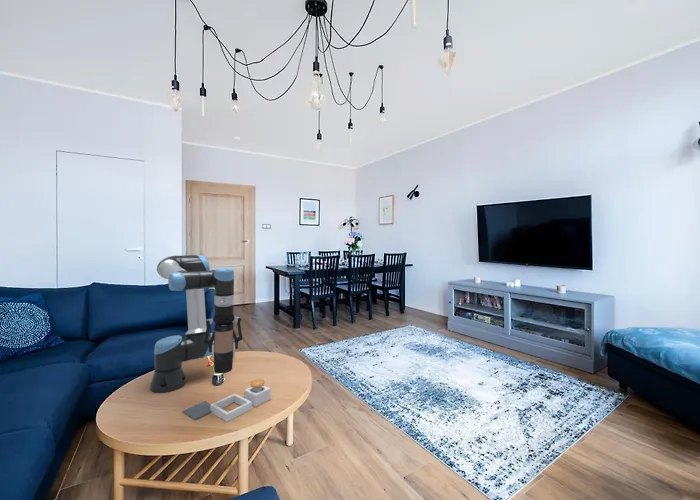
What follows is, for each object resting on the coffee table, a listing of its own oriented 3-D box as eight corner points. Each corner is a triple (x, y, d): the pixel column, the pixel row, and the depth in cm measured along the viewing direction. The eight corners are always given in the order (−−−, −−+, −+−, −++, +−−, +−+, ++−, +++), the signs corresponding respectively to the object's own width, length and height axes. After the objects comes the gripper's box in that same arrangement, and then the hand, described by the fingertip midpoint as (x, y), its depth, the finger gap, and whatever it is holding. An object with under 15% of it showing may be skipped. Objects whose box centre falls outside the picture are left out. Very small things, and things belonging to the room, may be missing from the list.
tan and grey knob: (247, 399, 141) (247, 382, 141) (258, 393, 146) (258, 378, 145) (256, 403, 137) (256, 386, 137) (266, 397, 142) (267, 381, 142)
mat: (182, 412, 131) (182, 410, 131) (205, 402, 139) (205, 400, 139) (195, 420, 125) (195, 419, 125) (218, 409, 133) (218, 408, 133)
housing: (244, 401, 141) (244, 390, 140) (258, 393, 147) (258, 383, 147) (255, 406, 136) (255, 395, 136) (269, 399, 143) (270, 388, 142)
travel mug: (236, 370, 133) (236, 323, 132) (218, 375, 127) (218, 327, 126) (228, 364, 138) (228, 320, 137) (210, 369, 132) (211, 323, 131)
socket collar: (210, 411, 131) (210, 404, 131) (234, 400, 141) (234, 393, 141) (227, 421, 125) (227, 414, 124) (251, 408, 134) (251, 401, 134)
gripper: (196, 308, 124) (196, 364, 125) (250, 305, 132) (249, 358, 133) (197, 304, 130) (197, 357, 132) (248, 301, 139) (247, 351, 140)
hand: (223, 357), depth 132 cm, fingers closed on travel mug, 8 cm apart
